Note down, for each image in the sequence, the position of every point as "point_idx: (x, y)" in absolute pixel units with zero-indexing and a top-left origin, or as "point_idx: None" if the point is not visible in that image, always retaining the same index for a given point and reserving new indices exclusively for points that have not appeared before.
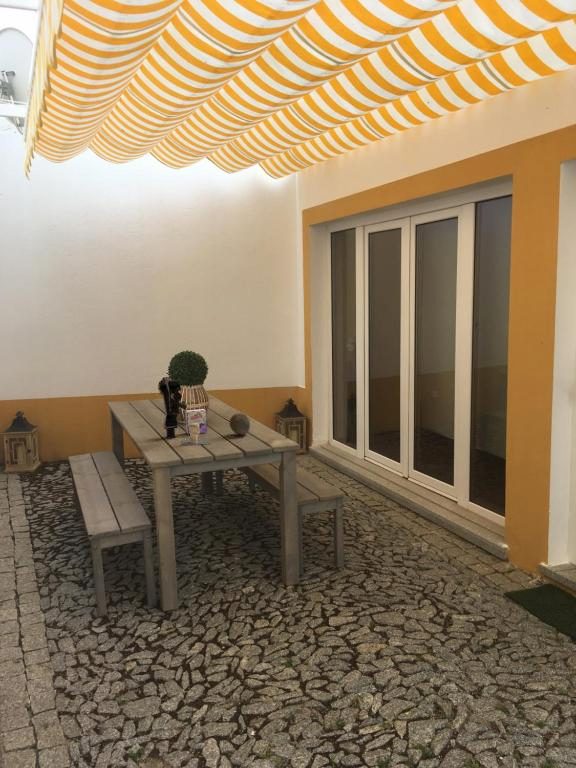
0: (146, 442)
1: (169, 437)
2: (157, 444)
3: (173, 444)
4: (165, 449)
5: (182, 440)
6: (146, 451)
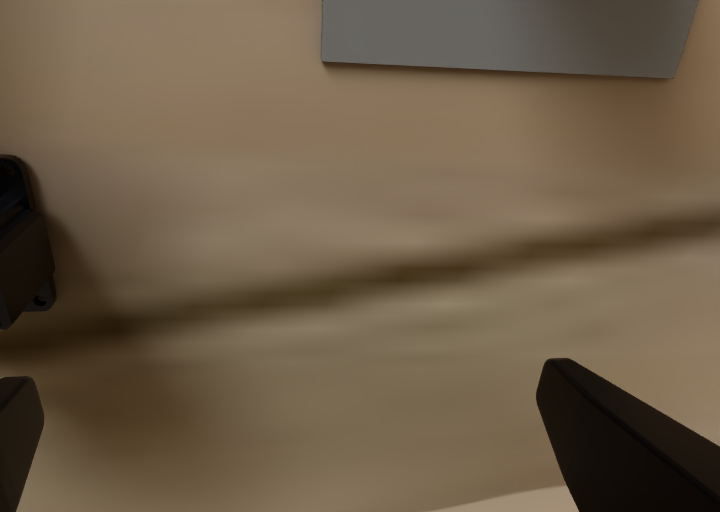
0: (257, 496)
1: (51, 261)
2: (408, 390)
3: (499, 206)
4: (704, 303)
5: (324, 48)
6: None
